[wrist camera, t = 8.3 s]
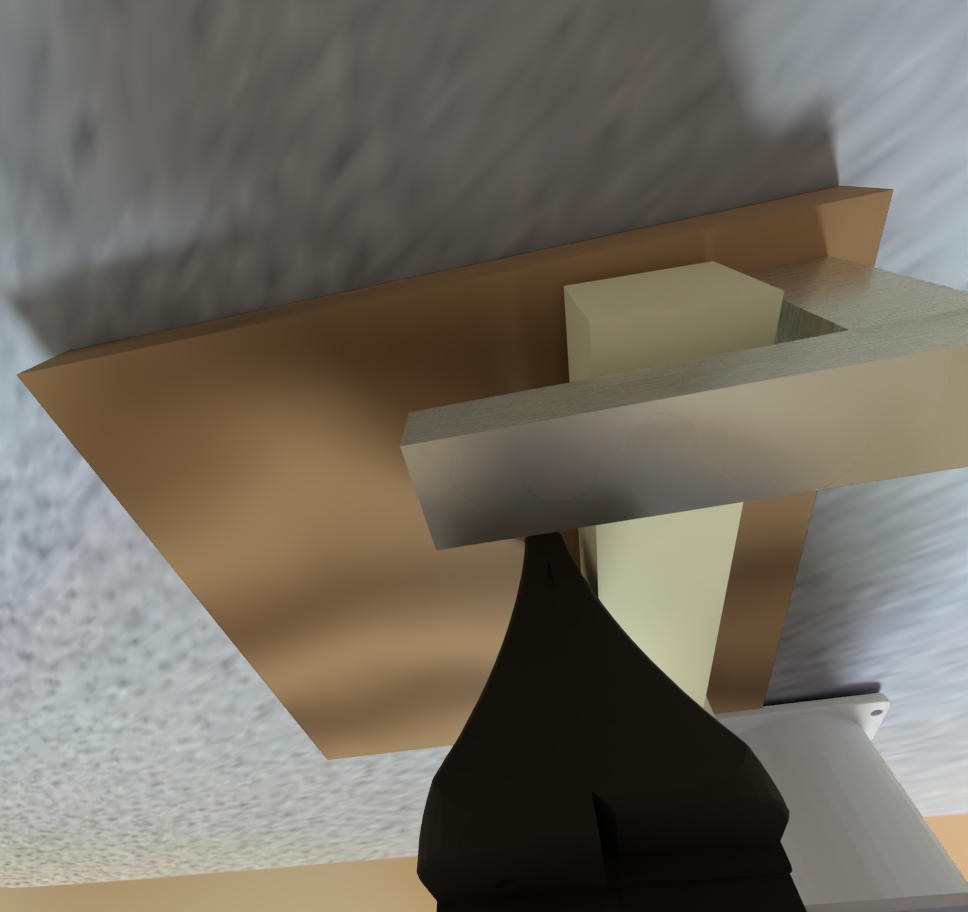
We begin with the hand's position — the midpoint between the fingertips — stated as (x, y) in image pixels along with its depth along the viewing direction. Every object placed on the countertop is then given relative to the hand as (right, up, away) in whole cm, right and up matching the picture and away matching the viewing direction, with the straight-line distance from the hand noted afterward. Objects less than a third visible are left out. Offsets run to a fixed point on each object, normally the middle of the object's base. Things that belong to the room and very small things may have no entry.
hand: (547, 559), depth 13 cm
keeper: (+1, +5, -2) cm, 6 cm away
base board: (-1, -1, +3) cm, 4 cm away
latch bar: (+3, 0, +1) cm, 3 cm away
